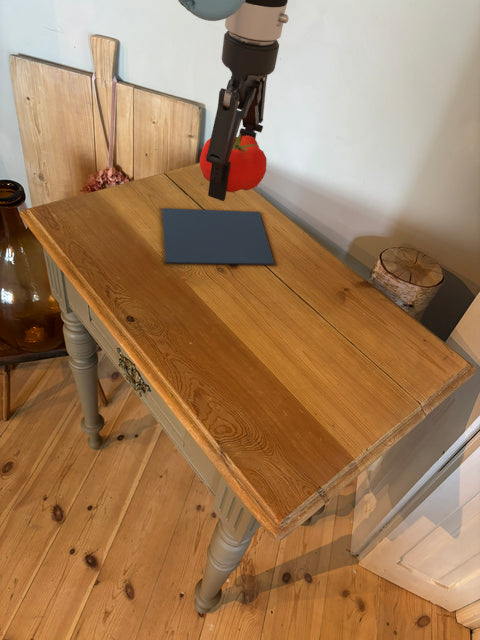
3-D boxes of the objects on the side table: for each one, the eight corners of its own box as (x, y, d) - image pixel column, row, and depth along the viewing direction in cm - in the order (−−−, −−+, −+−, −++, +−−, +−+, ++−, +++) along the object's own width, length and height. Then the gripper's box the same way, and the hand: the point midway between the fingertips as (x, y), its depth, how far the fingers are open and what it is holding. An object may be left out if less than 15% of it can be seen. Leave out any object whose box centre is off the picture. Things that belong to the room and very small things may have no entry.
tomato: (272, 196, 77) (282, 155, 71) (211, 204, 73) (217, 160, 67) (245, 162, 83) (253, 122, 77) (188, 167, 79) (192, 125, 73)
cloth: (165, 263, 82) (166, 261, 82) (162, 209, 92) (162, 208, 92) (274, 264, 86) (274, 263, 86) (258, 213, 97) (259, 211, 96)
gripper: (247, 68, 53) (223, 224, 69) (302, 23, 69) (272, 159, 85) (189, 50, 54) (178, 207, 70) (256, 9, 70) (235, 146, 86)
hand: (230, 181), depth 78 cm, fingers closed on tomato, 11 cm apart
